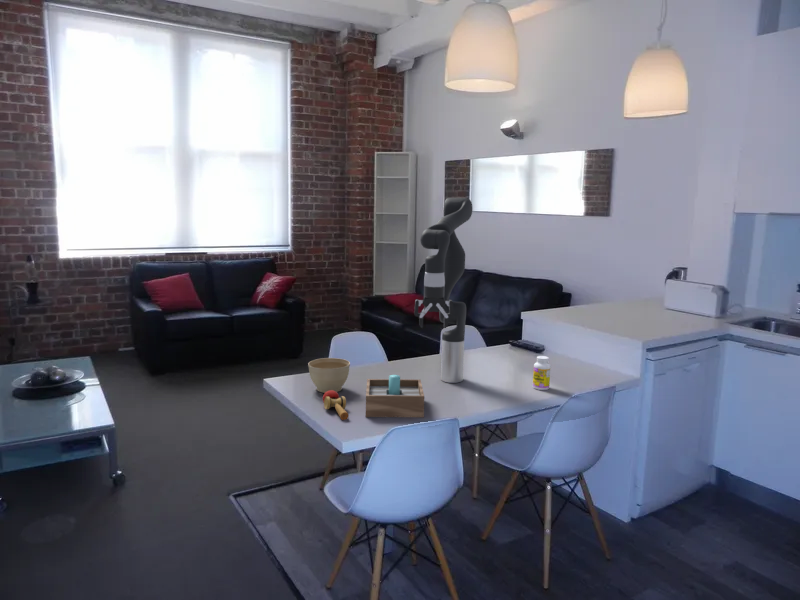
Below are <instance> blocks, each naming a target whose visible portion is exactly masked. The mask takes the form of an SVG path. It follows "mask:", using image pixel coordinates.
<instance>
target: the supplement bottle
mask: <svg viewBox="0 0 800 600" xmlns="http://www.w3.org/2000/svg"><path fill="white" fill-rule="evenodd" d="M549 361H550V357H548V356H546V355H538V356H536V362H535V363H534V364H533V375H532V388H533V389H535V390H539V391H547V390H549V389H550V379H551V368H552V367H551V366H552V365H551V364H550V362H549Z"/></svg>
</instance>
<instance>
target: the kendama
mask: <svg viewBox="0 0 800 600" xmlns="http://www.w3.org/2000/svg"><path fill="white" fill-rule="evenodd" d="M322 403H323V407H324V409H325V410H329V409H331V408H335V410H336V413H337V414H338V416H339V418H340V420H342V421H345V420H348V419H349V416H350V415H349V413H348V412H347V411H346V410H345V409H346V407H347V399H346V397H345V396H343V395H341V396H340V394H339V393H338V392H335V391H333V390H329V391H327V392H325V393H324V394H323V396H322Z"/></svg>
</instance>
